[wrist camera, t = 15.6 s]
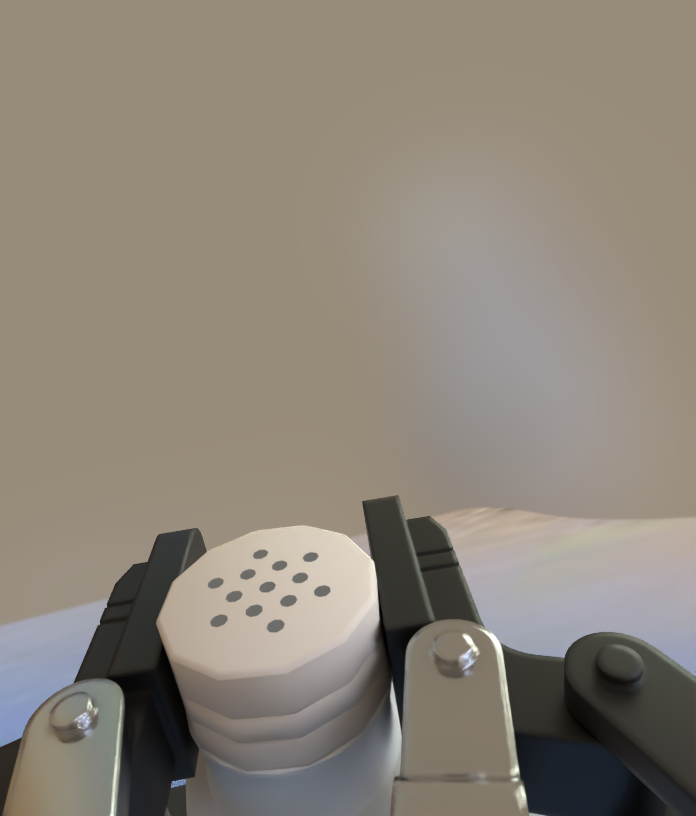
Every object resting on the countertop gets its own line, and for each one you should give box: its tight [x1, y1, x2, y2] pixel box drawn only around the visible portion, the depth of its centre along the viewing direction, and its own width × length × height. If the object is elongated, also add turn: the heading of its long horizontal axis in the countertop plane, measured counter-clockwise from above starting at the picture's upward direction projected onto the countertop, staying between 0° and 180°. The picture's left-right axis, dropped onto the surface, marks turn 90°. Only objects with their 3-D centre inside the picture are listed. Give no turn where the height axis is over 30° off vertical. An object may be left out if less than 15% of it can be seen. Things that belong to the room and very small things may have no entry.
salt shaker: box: [156, 525, 402, 816], centre depth 11 cm, size 4×4×10 cm
